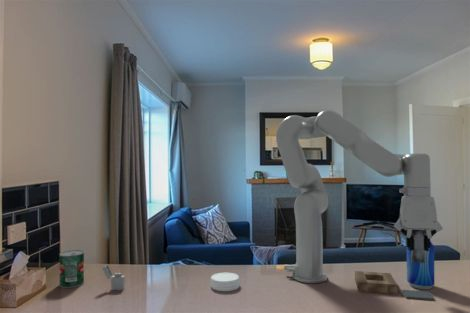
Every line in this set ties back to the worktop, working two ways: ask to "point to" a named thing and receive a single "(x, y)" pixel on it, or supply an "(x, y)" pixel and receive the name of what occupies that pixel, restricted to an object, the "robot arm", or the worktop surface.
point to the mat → (418, 295)
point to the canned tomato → (71, 268)
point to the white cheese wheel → (225, 281)
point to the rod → (418, 246)
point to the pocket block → (375, 282)
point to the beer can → (421, 270)
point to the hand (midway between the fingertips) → (418, 249)
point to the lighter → (115, 279)
